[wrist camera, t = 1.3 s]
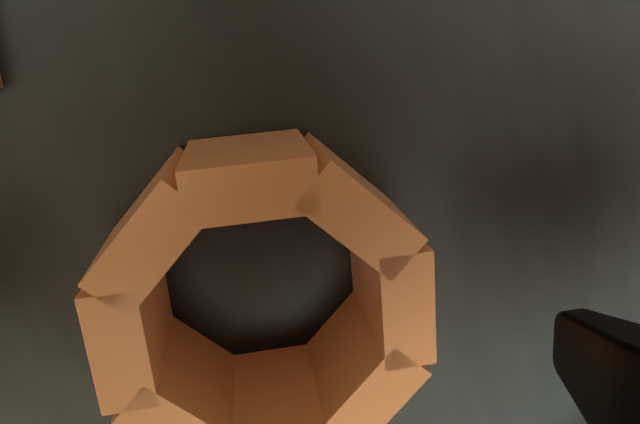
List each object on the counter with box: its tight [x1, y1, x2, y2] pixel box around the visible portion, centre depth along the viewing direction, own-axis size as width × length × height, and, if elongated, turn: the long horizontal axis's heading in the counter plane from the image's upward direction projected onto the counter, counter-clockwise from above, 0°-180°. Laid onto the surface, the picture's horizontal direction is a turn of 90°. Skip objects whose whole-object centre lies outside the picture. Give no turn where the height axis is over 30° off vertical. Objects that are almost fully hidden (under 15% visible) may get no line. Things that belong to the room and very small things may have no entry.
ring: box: [74, 129, 437, 424], centre depth 12 cm, size 6×6×3 cm
